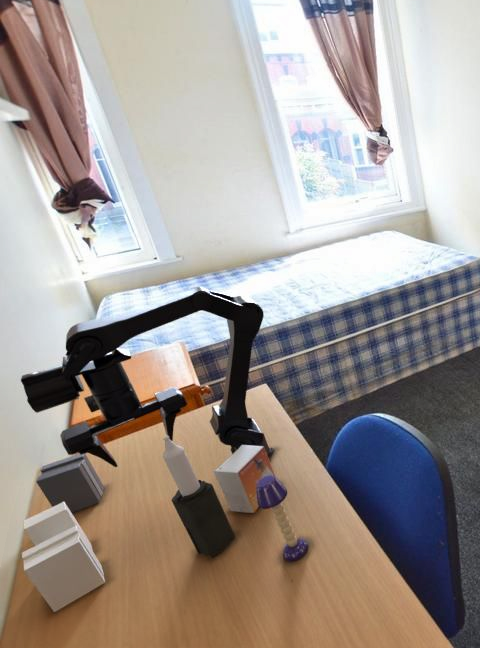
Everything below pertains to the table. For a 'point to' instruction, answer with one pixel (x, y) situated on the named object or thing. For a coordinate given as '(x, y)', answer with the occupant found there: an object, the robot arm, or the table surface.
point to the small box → (243, 477)
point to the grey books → (71, 483)
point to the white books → (63, 568)
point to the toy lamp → (280, 515)
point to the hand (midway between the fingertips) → (144, 452)
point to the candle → (197, 504)
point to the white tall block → (51, 524)
